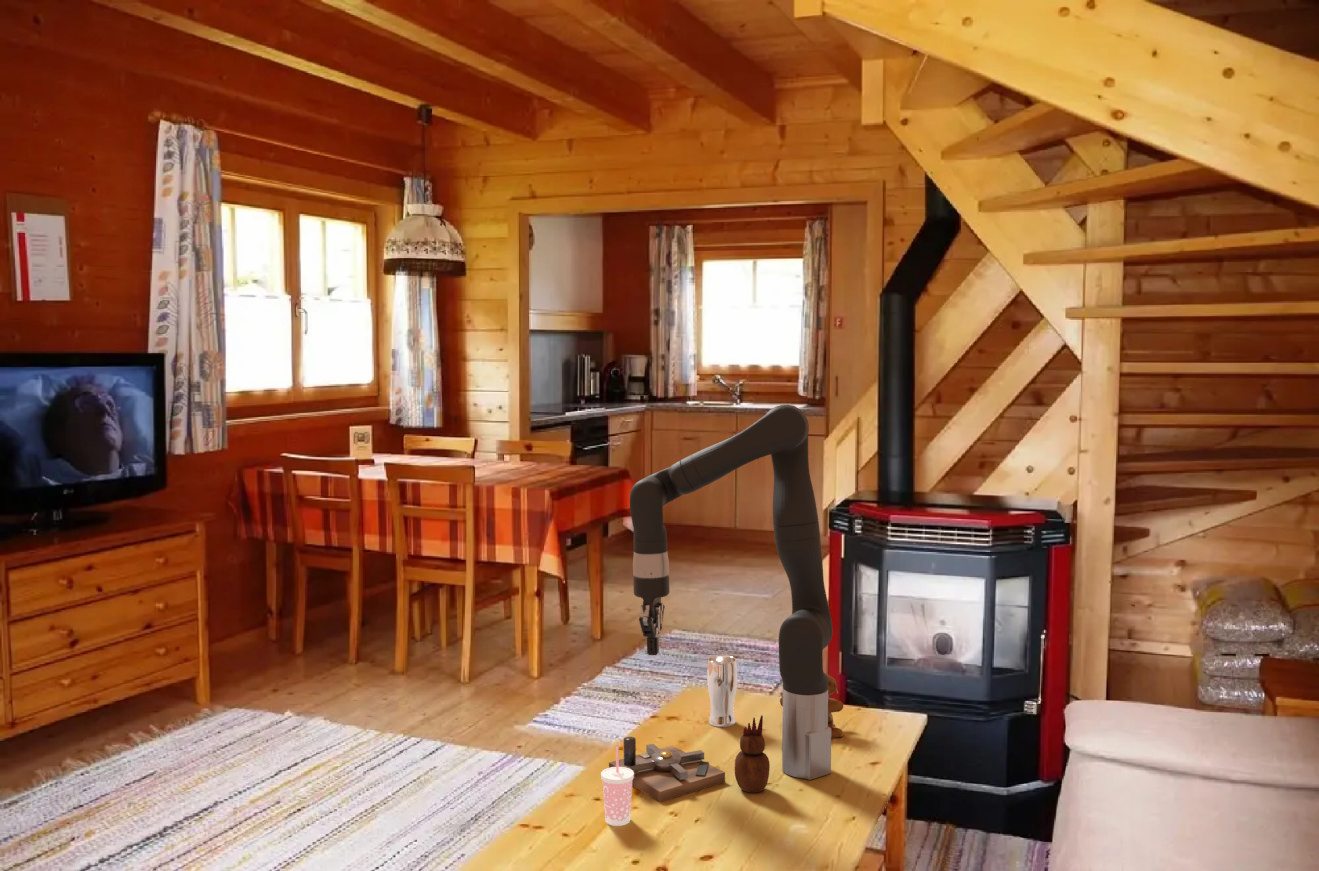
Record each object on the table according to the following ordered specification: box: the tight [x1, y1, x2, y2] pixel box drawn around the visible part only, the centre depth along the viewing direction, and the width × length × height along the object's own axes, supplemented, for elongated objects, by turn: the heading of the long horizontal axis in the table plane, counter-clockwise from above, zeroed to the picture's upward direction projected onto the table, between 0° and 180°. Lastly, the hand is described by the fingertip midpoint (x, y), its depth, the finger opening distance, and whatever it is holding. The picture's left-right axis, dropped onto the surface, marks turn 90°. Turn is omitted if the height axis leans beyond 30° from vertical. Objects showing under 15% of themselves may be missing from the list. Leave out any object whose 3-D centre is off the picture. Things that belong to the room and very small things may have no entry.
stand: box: [608, 745, 726, 803], centre depth 220 cm, size 18×16×2 cm
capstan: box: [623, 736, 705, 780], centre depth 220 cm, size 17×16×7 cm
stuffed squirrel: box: [779, 673, 844, 739], centre depth 246 cm, size 10×14×13 cm
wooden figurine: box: [734, 715, 771, 794], centre depth 213 cm, size 7×6×15 cm
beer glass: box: [706, 654, 738, 728], centre depth 251 cm, size 7×7×15 cm
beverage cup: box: [600, 745, 634, 827], centre depth 200 cm, size 6×6×14 cm
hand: (653, 654), depth 228 cm, fingers closed
